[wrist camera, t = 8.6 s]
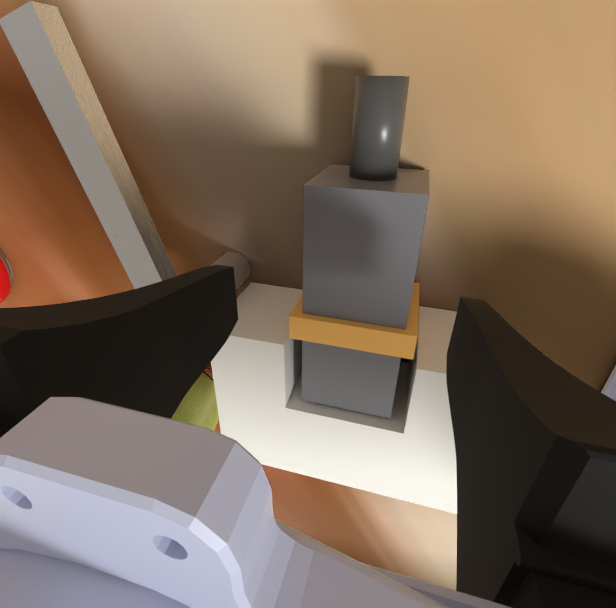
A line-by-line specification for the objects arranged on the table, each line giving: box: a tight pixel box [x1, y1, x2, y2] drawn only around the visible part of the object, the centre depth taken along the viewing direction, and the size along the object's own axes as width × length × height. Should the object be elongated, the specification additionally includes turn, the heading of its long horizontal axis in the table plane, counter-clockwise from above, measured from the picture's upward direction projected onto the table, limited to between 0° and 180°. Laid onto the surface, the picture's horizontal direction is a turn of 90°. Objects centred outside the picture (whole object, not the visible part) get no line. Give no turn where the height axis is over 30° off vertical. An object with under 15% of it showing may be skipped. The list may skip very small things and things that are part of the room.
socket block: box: [210, 251, 457, 514], centre depth 21 cm, size 16×11×6 cm
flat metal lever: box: [0, 1, 177, 289], centre depth 15 cm, size 13×3×1 cm, turn 16°
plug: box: [289, 76, 429, 418], centre depth 17 cm, size 6×15×5 cm, turn 179°
